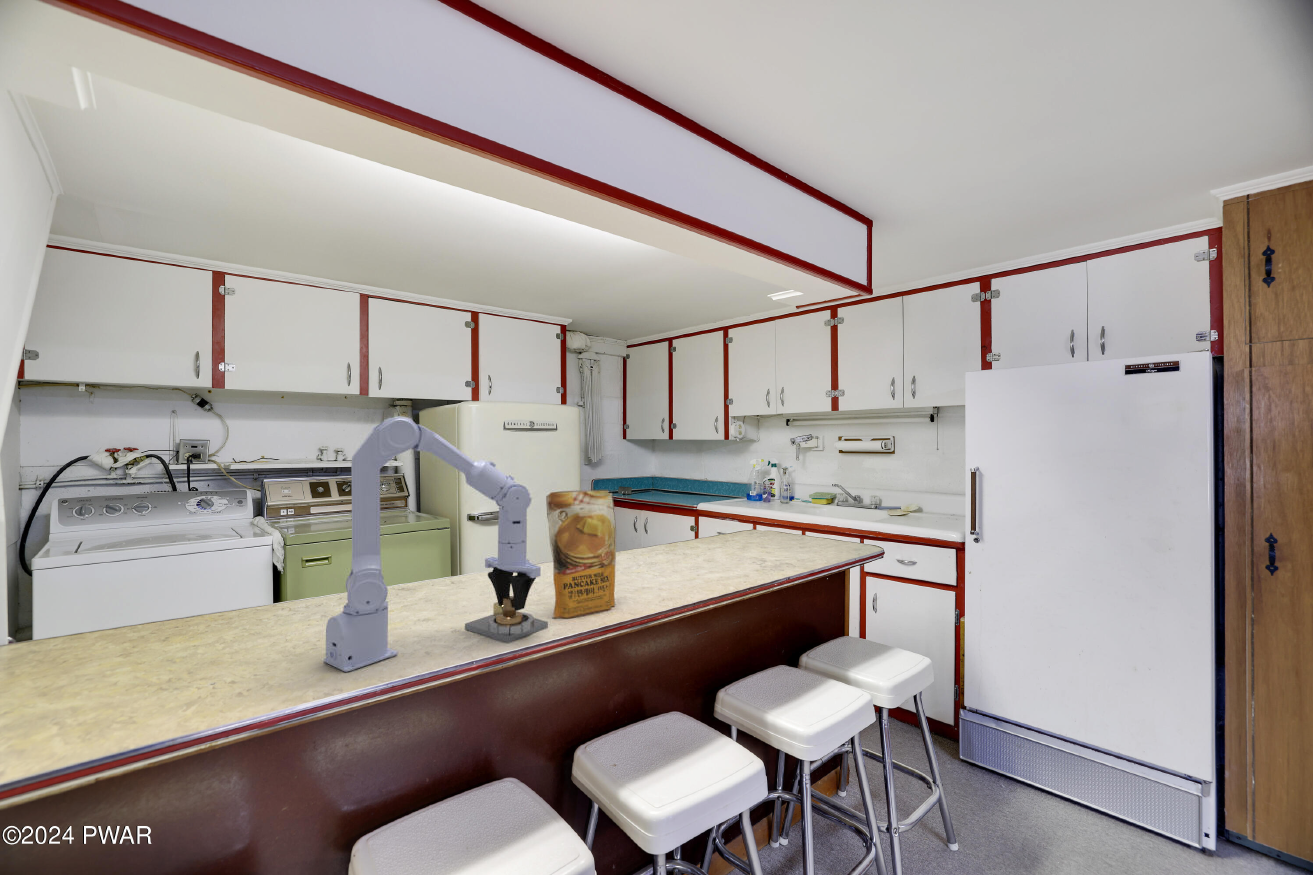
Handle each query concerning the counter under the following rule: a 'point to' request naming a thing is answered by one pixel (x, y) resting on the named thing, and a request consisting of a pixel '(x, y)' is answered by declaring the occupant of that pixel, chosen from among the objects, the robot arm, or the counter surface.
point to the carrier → (505, 626)
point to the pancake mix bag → (582, 551)
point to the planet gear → (509, 613)
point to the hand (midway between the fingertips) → (511, 606)
